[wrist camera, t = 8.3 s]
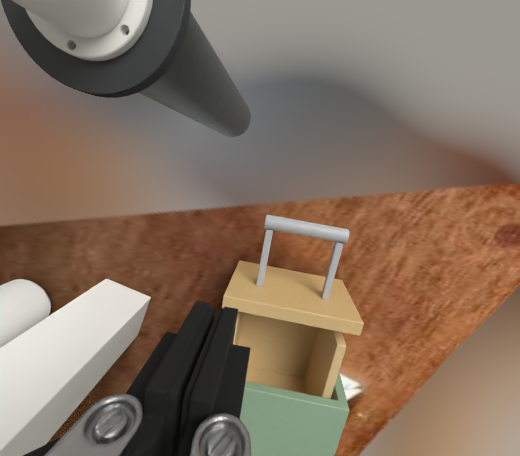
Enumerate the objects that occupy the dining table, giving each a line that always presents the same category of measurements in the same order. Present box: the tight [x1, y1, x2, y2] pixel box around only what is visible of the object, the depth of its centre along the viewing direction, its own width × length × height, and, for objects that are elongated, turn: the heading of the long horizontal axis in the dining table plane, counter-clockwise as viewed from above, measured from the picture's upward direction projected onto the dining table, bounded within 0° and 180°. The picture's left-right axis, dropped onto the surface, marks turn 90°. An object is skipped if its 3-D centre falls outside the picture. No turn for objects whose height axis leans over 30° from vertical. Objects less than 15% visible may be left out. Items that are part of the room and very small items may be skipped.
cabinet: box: [240, 373, 349, 456], centre depth 28 cm, size 15×13×10 cm
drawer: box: [222, 215, 364, 399], centre depth 25 cm, size 20×11×8 cm, turn 170°
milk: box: [0, 279, 151, 456], centre depth 21 cm, size 6×6×22 cm
